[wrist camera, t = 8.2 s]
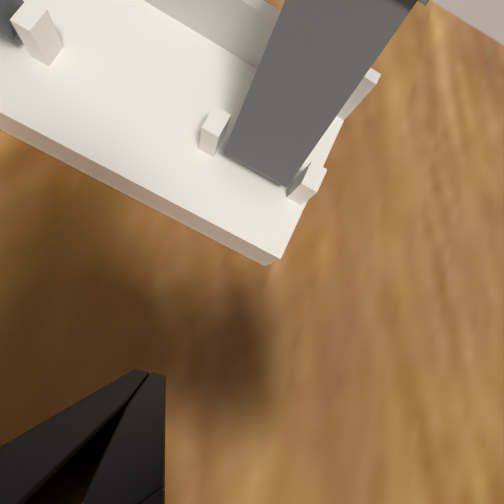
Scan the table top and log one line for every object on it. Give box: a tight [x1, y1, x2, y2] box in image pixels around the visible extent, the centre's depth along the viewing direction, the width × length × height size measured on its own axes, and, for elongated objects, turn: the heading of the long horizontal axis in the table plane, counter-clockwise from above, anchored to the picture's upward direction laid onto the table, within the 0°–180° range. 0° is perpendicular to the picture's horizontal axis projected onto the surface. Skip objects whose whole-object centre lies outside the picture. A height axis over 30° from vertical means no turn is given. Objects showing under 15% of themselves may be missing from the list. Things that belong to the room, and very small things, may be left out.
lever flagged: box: [224, 0, 429, 187], centre depth 12 cm, size 2×4×10 cm, turn 65°
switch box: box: [0, 0, 381, 266], centre depth 16 cm, size 9×19×6 cm, turn 65°
